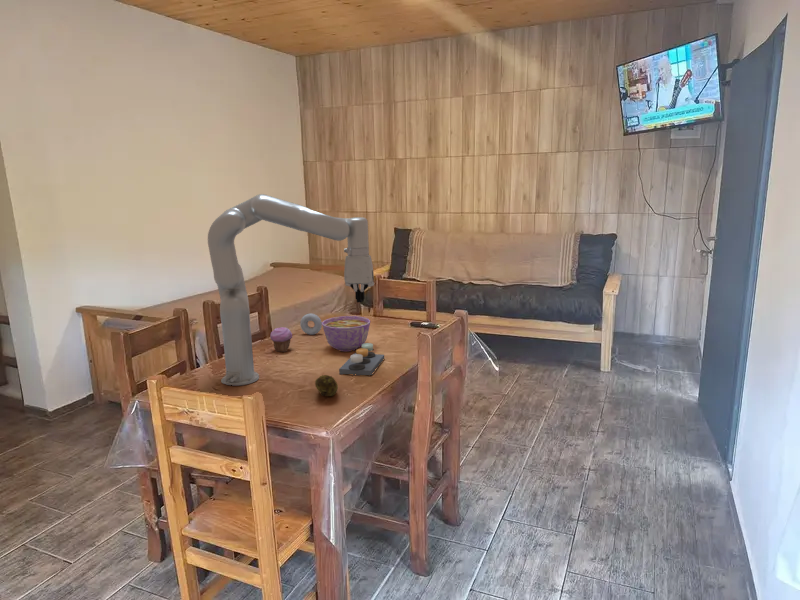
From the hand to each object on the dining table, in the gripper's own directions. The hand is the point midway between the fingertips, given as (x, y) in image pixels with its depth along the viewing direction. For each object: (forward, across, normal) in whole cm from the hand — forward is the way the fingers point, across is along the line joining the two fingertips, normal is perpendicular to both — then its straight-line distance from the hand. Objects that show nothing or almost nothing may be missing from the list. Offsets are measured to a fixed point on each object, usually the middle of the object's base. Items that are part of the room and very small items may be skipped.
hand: (360, 301), depth 206 cm
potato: (+25, -3, -30) cm, 39 cm away
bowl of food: (+25, -13, +21) cm, 35 cm away
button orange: (+21, 0, 0) cm, 21 cm away
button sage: (+21, 0, +7) cm, 22 cm away
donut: (+25, -36, +39) cm, 59 cm away
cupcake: (+25, -39, +14) cm, 49 cm away
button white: (+21, 0, -7) cm, 22 cm away
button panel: (+25, 0, 0) cm, 25 cm away
